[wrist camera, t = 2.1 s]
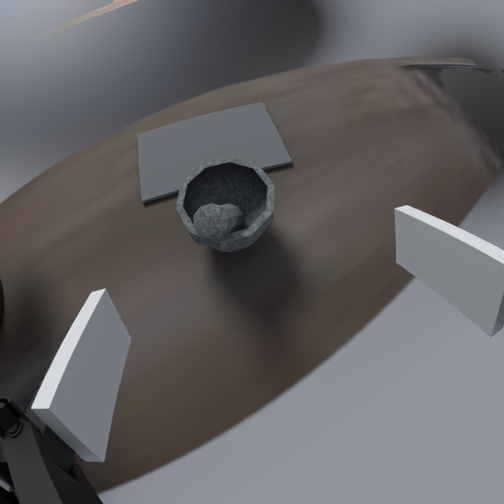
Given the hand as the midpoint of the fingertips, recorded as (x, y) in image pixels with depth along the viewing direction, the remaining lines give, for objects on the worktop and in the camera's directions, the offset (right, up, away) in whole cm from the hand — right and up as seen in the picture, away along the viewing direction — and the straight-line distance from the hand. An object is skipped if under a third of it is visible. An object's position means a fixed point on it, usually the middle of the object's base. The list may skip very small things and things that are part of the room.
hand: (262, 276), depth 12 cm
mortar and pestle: (-3, +3, +22) cm, 23 cm away
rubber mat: (-7, +16, +27) cm, 32 cm away
